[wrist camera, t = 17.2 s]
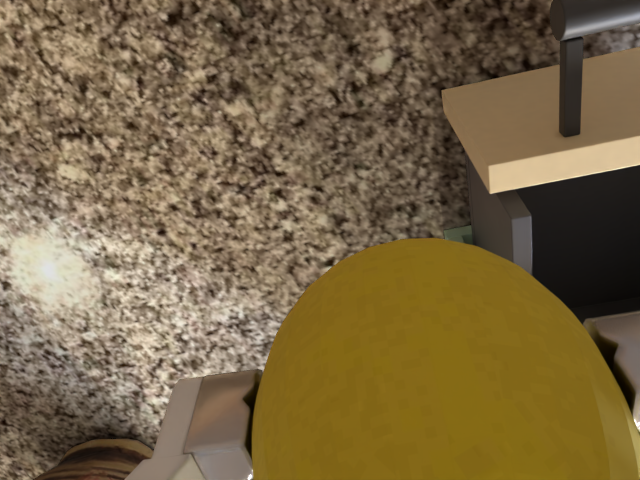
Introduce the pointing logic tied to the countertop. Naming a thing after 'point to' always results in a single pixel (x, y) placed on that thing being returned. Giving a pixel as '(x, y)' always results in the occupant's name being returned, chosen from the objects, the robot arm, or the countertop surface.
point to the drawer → (561, 163)
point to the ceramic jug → (100, 460)
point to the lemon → (437, 377)
